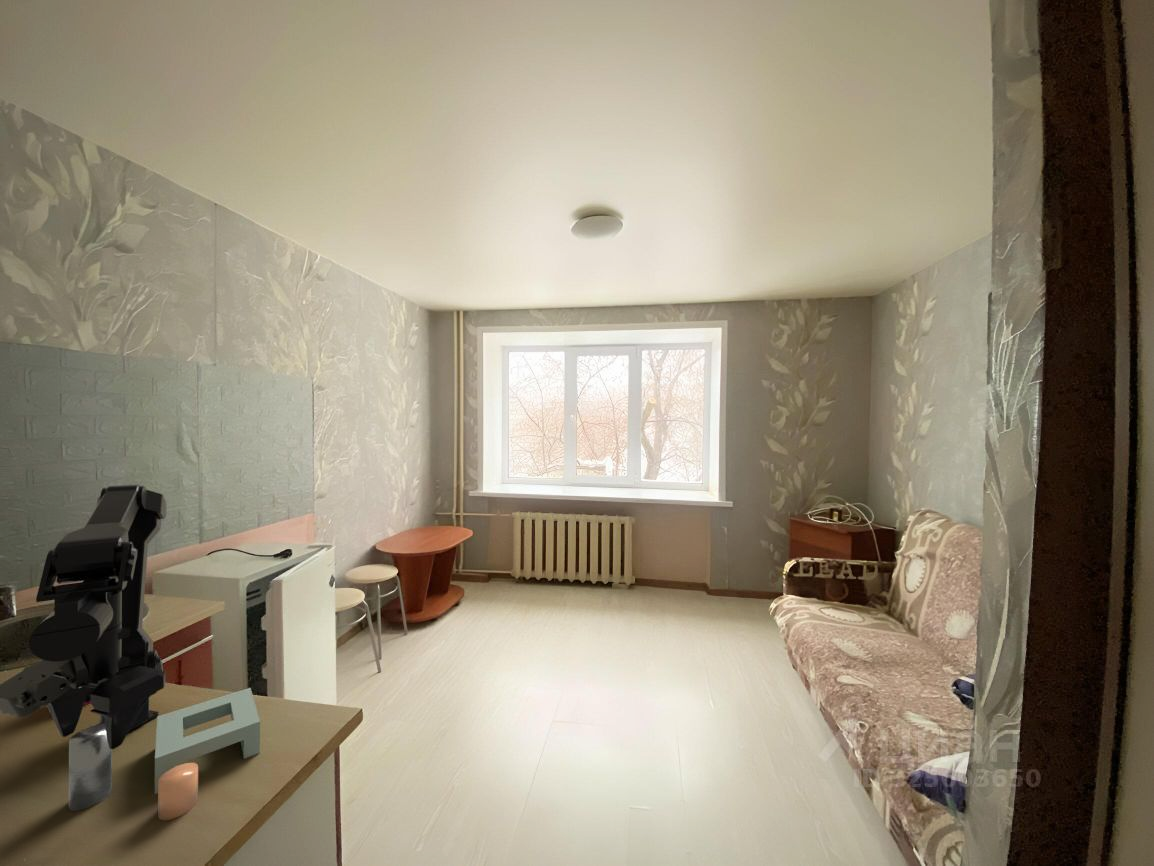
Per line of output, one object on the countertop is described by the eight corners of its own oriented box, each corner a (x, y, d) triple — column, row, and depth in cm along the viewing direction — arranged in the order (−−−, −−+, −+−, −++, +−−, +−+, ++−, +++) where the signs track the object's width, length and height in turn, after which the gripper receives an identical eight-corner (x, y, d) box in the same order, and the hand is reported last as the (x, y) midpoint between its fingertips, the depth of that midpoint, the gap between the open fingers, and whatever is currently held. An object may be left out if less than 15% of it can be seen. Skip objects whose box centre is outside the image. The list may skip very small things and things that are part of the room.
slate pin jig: (157, 747, 71) (157, 716, 70) (250, 715, 79) (250, 687, 79) (154, 794, 62) (154, 758, 62) (259, 752, 70) (260, 721, 70)
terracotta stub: (150, 816, 58) (150, 782, 58) (183, 791, 62) (183, 760, 62) (173, 823, 57) (173, 789, 57) (205, 797, 61) (205, 765, 61)
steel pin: (60, 807, 59) (61, 740, 59) (99, 784, 63) (99, 721, 63) (81, 813, 58) (82, 746, 58) (119, 789, 62) (119, 726, 62)
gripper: (-46, 647, 55) (-46, 771, 55) (58, 669, 51) (57, 804, 51) (74, 611, 66) (73, 715, 66) (168, 627, 62) (167, 738, 62)
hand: (91, 740), depth 61 cm, fingers open, 9 cm apart
